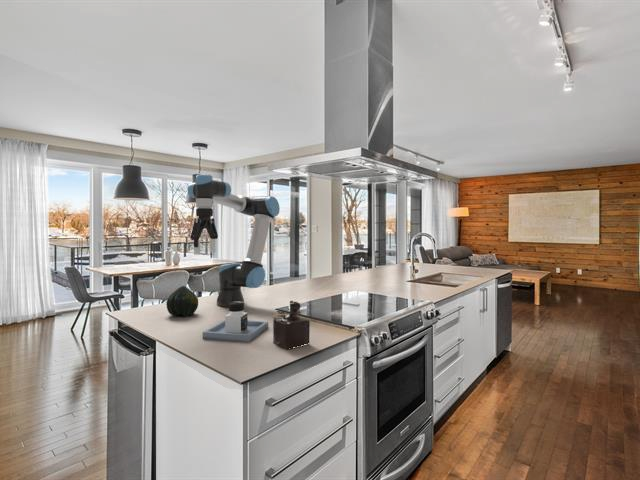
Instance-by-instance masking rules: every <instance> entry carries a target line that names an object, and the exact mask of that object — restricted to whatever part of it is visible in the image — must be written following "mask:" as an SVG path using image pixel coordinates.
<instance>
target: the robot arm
mask: <svg viewBox="0 0 640 480" xmlns="http://www.w3.org/2000/svg"><path fill="white" fill-rule="evenodd" d="M187 193H188V196H189V197H190V198H193V199H195V207H196V209H195V216H196V218H195V217H194V218H193V219H194V220H193V224H192V225H193V226H192V229H191V233H190V236H189V237H190V240H191V241H193V255H196V256H197V255H201V240H200V237H201V235H202V233H203V231H204V229H206V232H207V234H208V235H209V242H208V243H209V253H216V239H218V237H219V236H218V235H219V234H218V231H217V228H216V223H215V218H213V216H214V209H213V207H214V203H215V204H218V205H221V206H224V207H227V208H230V209H233V210H234V211H235V212H237V213H239V214H240V213H241V214H243V215H247V216H249V217H253V219H254V224H253V227H252V231H251V236H250V240H249V245H248V247H247V248H248V249H247V253H246V257H245V259H243V260H242V261H241V263H240V262H235V263H226V264H221V265H220V266H219V271H218V273H219V275H218V276H219V277H218V278H219V280H218V281H219V292H218V295H217V298H216V306H218V307H223V308H227V307H228V308H229V304H230V303H231V302H242V303H244V304H245V298H244V295H243V293H242V288H249V289H256V288H259V287H260V286H262V285H263V283H264V282H265V279H266V270H265V268H264V264H263V263H262V260H263V259H262V258H263V255H264V251H265V247H266V246H265V245H266V242H267V237H268V233H269V229H270V224H271V223H272V222H273V221H274V219H275V218H274V217H277V216H278V215H279V213H280V211H281V210H280V209H281V208H280V203H279V201H278V199H277V198H276V197H275V196H271V195H270V196H269V195H267V196H266V195H265V196H243V195H236V194H235V195H234V194H232V187H231V184H230V183H229V182H226V181H220V180H215V179H214V178H213V176H212V175H211V174H205V173H203V174H201V173H200V174H197V175H196V176H195V182H192V183H190V184H188V187H187ZM211 217H212V218H211Z"/></svg>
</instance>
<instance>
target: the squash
mask: <svg viewBox="0 0 640 480" xmlns="http://www.w3.org/2000/svg"><path fill="white" fill-rule="evenodd" d="M165 305H166V309H167V312H168V313H169V314H170V316H173V317H174V316H175V317H177V316H179V315H180V316H181V315H182V316H183V317H185V318H186V317H188V316H191V315H194V313H196V310H198V307H199V299H198V297H197V295H196V293H194V292H193V291H192V290H191V289H189V288H188V287H187V286H185V285H182V286H179V287H178V288H176V289H175V290H173V292H172V293H171V294H170V295H169V296H168V298H167V300H166V304H165Z"/></svg>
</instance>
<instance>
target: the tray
mask: <svg viewBox="0 0 640 480" xmlns="http://www.w3.org/2000/svg"><path fill="white" fill-rule="evenodd" d="M268 328H269V321H257V320H248V329H246V330H245V331H244V332H242V333H226V332H225V319H224V320H223V321H220V322H218V323H217V324H215V325H213V326H210V327H209V328H208V329H206V330H204V331H202V339H205V340H217V341H219V340H220V341H231V342H232V341H233V342H244V343H246V342H247V343H250V342H252V341H253V340H254V339H256V338H257V337H258V336H260V335H261V334H262V333H264V331H265V332H266V330H267V329H268Z"/></svg>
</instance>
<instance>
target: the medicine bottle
mask: <svg viewBox="0 0 640 480" xmlns="http://www.w3.org/2000/svg"><path fill="white" fill-rule="evenodd" d="M244 305H245V302H244V303H242V302H231V303H230V304H229V307H228V314H226V315H224V320H225V332H226V333H242V332H244V331H245V330H246V329H248V321H249V320H248V318H249V317H248V312H247V311H246V312H245V306H244Z"/></svg>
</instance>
